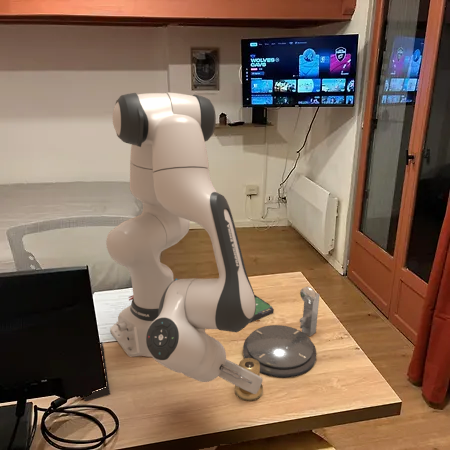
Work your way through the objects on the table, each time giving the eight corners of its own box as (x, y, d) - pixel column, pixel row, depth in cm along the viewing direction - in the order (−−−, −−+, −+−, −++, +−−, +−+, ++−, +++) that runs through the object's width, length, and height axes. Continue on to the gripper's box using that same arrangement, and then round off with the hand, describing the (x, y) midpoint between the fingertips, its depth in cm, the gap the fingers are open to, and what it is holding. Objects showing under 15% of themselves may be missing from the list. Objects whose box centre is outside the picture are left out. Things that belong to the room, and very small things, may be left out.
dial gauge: (293, 335, 133) (296, 287, 127) (305, 327, 137) (309, 280, 131) (306, 342, 130) (310, 293, 124) (318, 333, 134) (323, 286, 128)
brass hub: (229, 390, 111) (229, 364, 108) (248, 377, 115) (249, 351, 112) (248, 405, 107) (249, 378, 103) (268, 391, 111) (269, 365, 108)
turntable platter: (233, 347, 124) (233, 343, 124) (274, 321, 136) (274, 317, 136) (285, 379, 112) (285, 374, 112) (325, 348, 124) (326, 343, 124)
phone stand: (80, 378, 115) (74, 338, 110) (104, 372, 117) (99, 333, 113) (84, 402, 107) (79, 360, 103) (110, 395, 109) (105, 354, 105)
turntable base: (228, 352, 125) (228, 348, 124) (274, 324, 138) (274, 319, 137) (285, 389, 112) (286, 383, 111) (330, 353, 125) (330, 348, 124)
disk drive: (220, 304, 150) (249, 324, 138) (220, 297, 148) (249, 317, 137) (245, 295, 155) (274, 314, 144) (245, 288, 154) (274, 306, 143)
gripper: (252, 364, 86) (277, 378, 97) (174, 325, 98) (204, 342, 108) (238, 395, 84) (264, 406, 95) (160, 353, 96) (192, 367, 107)
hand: (232, 372), depth 102 cm, fingers open, 8 cm apart
